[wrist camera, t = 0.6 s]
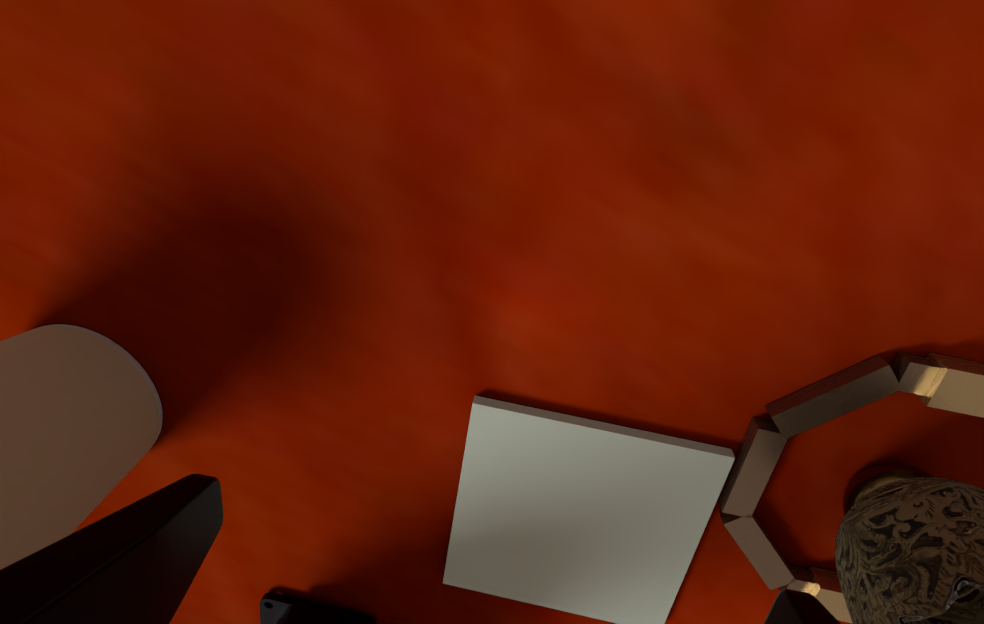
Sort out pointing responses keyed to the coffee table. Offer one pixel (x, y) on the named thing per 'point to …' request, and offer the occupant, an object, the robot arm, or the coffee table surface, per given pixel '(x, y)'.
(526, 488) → the felt pad
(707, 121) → the coffee table surface
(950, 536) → the cup
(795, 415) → the ring
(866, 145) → the coffee table surface
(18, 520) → the coffee cup
